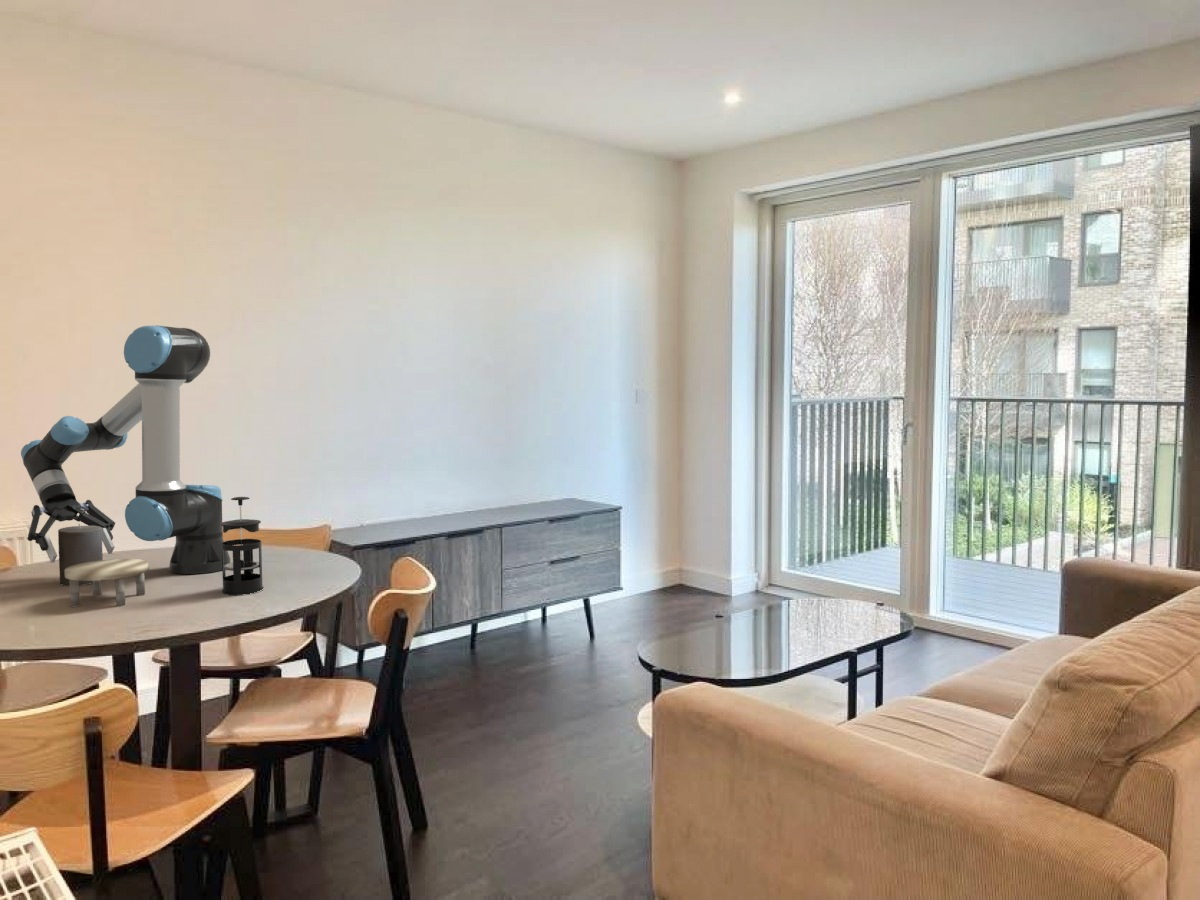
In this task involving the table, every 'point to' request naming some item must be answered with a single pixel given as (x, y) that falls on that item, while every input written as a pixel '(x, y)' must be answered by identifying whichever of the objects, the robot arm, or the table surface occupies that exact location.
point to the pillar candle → (78, 548)
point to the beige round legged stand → (106, 576)
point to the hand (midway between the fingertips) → (83, 554)
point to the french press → (242, 558)
